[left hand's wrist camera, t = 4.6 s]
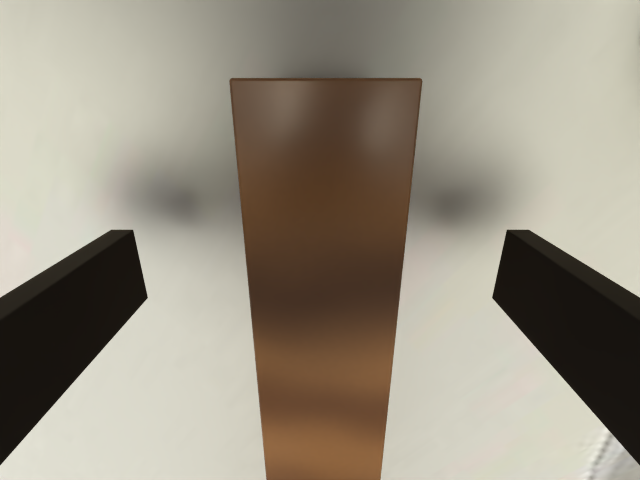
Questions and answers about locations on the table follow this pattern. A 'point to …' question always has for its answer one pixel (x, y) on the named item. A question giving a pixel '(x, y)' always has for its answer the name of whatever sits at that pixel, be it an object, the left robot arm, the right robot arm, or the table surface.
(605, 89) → the table surface
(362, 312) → the post
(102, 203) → the table surface
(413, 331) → the table surface
